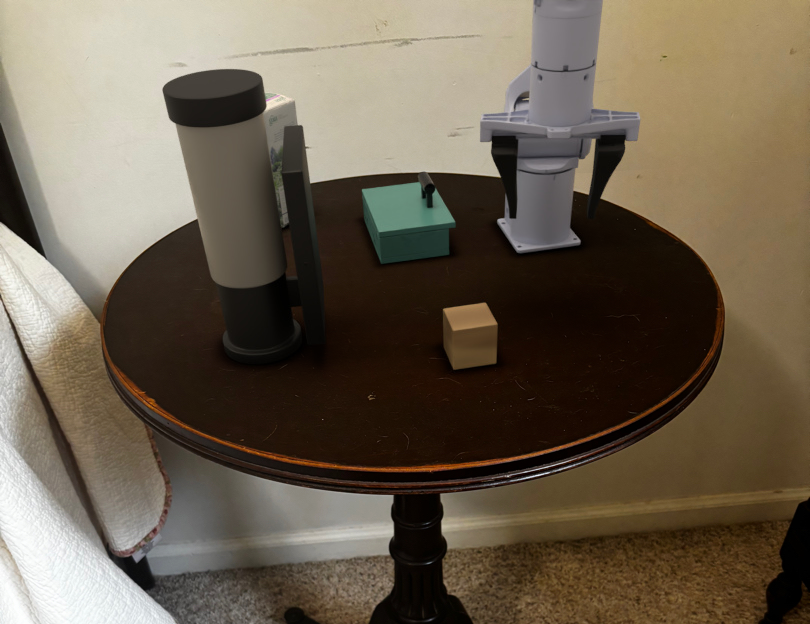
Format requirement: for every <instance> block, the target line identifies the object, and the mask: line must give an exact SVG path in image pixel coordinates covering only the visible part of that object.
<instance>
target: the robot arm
mask: <svg viewBox="0 0 810 624" xmlns="http://www.w3.org/2000/svg"><path fill="white" fill-rule="evenodd" d="M603 4H604V0H532V17H531V18H532V21H531V24H532V25H531V48H530V50H531V51H530V64H528V66H526V68H525V69H523V70H522V71H521V72H519V74H517V75H516V76H515V77H514V78H513V79H511V80H510V82H509V83H508V85H507V88H506V89H505V103H504V105H503V106H504V107H503V112H502V111H501V112H492V113H481V116H480V119H479V142H480V143H491V147H490V154H491V157H492V161H493V163H494V165H495V167H496V169H497V172H498V174H499V176H500V179H501V182H502V185H503V189H504V192H505V201H504V217H503V218H498V219H497V221H496V223H497V225H498V226H499V228H500V229H501V231H502V233H503V234H504V235H505V237H506V238H507V240H508V241H509V243H510V244H511V246H512V248H513V249H514V250H515V251H516V253H518V254H525V253H534V252H540V251H541V252H542V251H548V250H557V249H564V248H569V247H578V246H580V245H581V242H582V241H581V239H580V238H579V237H578V236H577V234H575V232H574V231H573V230H572V228H571V219H572V210H573V200H574V198H573V197H574V189H575V178H576V170H577V169H578V168H579V161H580V160H585V159H586V157H588V155H589V153H590V152H591V148H592V143H593V140H595V142H594V153H593V154H594V155H593V164H592V165H593V167H592V175H591V180H590V186H589V191H588V195H587V196H588V197H587V205H586V219H587V220H595V219H596V213H597V210H598V206H599V203H600V201H601V199H602V196H603V193H604V191H605V189H606V187H607V185H608V183H609V181H610V179H611V177H612V175H613V174H614V172H615V171H616V170H617V167H618V166H619V165H620V163H621V161H622V159H623V157H624V155H625V152H626V142H638V139H639V132H640V126H641V121H642V120H641V114H640V111H620V110H613V109H612V110H610V109H601V108H595V107H594V89H595V81H596V70H597V61H598V53H599V42H600V41H599V40H600V32H601V23H602V12H603Z"/></svg>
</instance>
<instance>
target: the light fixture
mask: <svg viewBox="0 0 810 624" xmlns="http://www.w3.org/2000/svg"><path fill="white" fill-rule="evenodd" d="M265 92H266V91H265V85H264V78H263V76H262V75H261V74H260V73H258V72H256V71H253V70H247V69H242V68H220V69H219V68H218V69H209V70H202V71H196V72H192V73H187V74H184V75H180V76H178V77H176V78H173V79H171V80H169V81H168V82H166V83H164V85H163V87H162V95H163V99H164V104H165V107H166V112H167V115H168V120H169V121H170V122H172V123H174V125H175V129H176V132H177V136H178V141H179V145H180V150H181V155H182V158H183V162H184V167H185V171H186V175H187V179H188V184H189V189H190V192H191V197H192V201H193V205H194V211H195V214H196V218H197V222H198V227H199V231H200V234H201V240H202V244H203V248H204V253H205V257H206V261H207V265H208V270H209V274H210V277H211V279H212V280H213V282H215V286H216V290H217V294H218V299H219V303H220V307H221V312H222V316H223V320H224V325H225V329H226V330H225V331H224V332H223V334H222V344H223V348H224V352H225V353H226V355H227V356H228V357H229V358H230V359H232V360H233V361H235V362H238V363H242V364H245V365H246V364H247V365H266V364H272V363H276V362H279V361H281V360H284V359H286V358H288V357H290V356H292V355H293V354H295V353H296V352H297V351H298V350H299V349H300V348H301V345H302V343H303V334H302V333H303V332H302V327H301V325H300V323H299V322H298V321H297V320H295V319H294V317H293V310H292V308H297V307H298V308H299V307H301V310H302V311H301V312H302V317H303V324H304V331H305V337H306V343H307V346H317V345H325V344H326V342H327V340H326V315H325V313H326V312H325V287H324V286H325V285H324V279H323V271H322V262H321V257H320V248H319V241H318V240H319V239H318V233H317V225H316V217H315V210H314V209H315V208H314V202H313V193H312V186H311V178H310V177H311V176H310V169H309V164H308V163H309V162H308V155H307V147H306V140H305V132H304V127H303V125H302V124H298V125H295V126H285V127H284V137H283V155H282V172H281V175H282V181H283V188H284V194H285V201H286V207H287V214H288V220H289V225H288V227H289V233H290V240H291V246H292V252H293V259H294V265H295V271H296V275H291V276H287V273H286V271H287V269H288V260H287V254H286V248H285V241H284V240H285V239H284V235H283V228H281V222H280V216H279V209H278V203H277V197H276V191H275V184H274V178H273V172H272V166H271V160H270V153H269V147H268V141H267V135H266V128H265V122H264V116H263V112H264V111H265V109H266V107H267V104H266V98H265Z"/></svg>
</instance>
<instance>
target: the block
mask: <svg viewBox="0 0 810 624" xmlns="http://www.w3.org/2000/svg"><path fill="white" fill-rule="evenodd" d="M498 324H499V323H498V322H497V321H496V319H495V317H494V315H493V313H492V311H491V310H490V307H489V306H488V304H487V303H486V302H479V303H474V304H466V305H460V306H452V307H446V308H445V307H444V308H443V309H442V327H443V328H442V330H443V331H442V333H443V337H442V338H443V349H444V351H445V354H446V356H447V359H448V360H449V363H450V365H451V368H452V369H453V371H457V370H462V369H469V368H475V367H482V366H489V365H496V364H497V357H498V356H497V355H498V354H497V353H498V328H499V327H498V326H499V325H498Z"/></svg>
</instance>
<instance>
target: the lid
mask: <svg viewBox="0 0 810 624" xmlns="http://www.w3.org/2000/svg"><path fill="white" fill-rule="evenodd" d="M417 181H418V182H411V183H410V182H409V183H403V184H392V185H386V186H377V187H370V188H362V189H361V197H362V196H363V198H364V201H365V203H366V206H367V208H368V210H369V213H370V215H371V218H372V220H373V223H374V225H375V228H376V230H377V233H378V235H379V237H387V236H395V235H402V234H410V233H417V232H425V231H432V230H440V229H447V228H448V229H453V228H456V221H455V219H454V217H453V215H452V214H451V212H450V210H449V208H448V207H447V204H446V203H445V202H444V199H443V198H442V196H441V195H440V193H439V192H438V189H437V187H436V185H435V183H434V182H433V179H432V178H431V177H430V175H429V173H428V172H427V171H421V172H419V173H418V175H417Z"/></svg>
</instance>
